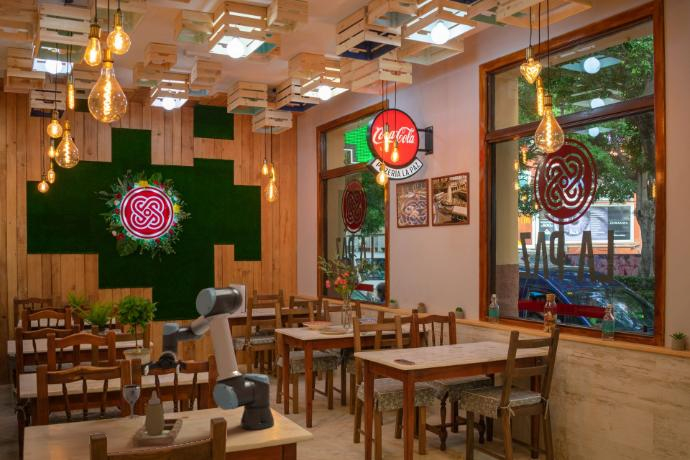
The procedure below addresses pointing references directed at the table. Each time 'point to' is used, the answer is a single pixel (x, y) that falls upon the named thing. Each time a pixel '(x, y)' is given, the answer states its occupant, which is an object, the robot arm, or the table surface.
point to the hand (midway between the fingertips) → (161, 371)
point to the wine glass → (131, 397)
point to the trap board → (165, 438)
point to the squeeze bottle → (154, 416)
